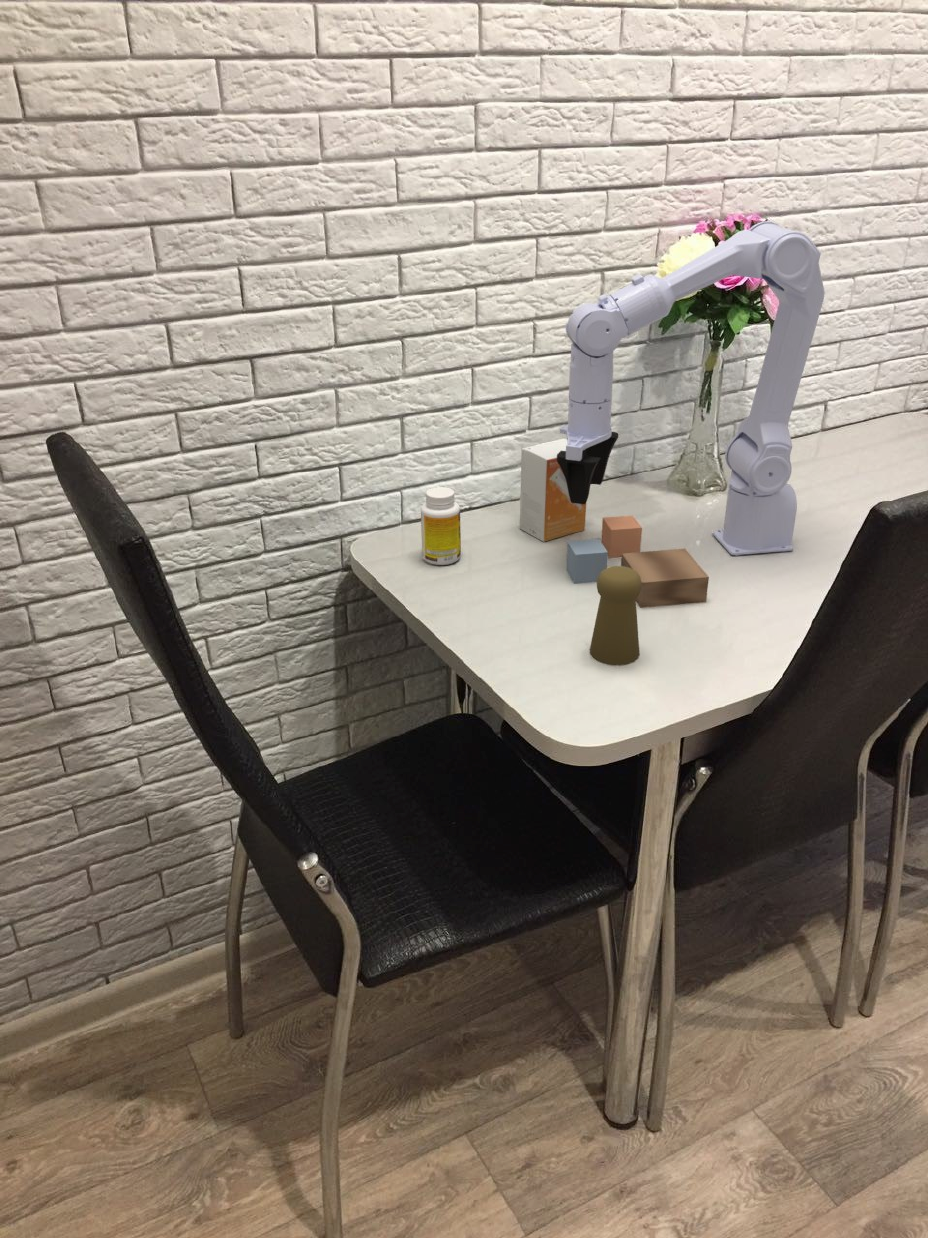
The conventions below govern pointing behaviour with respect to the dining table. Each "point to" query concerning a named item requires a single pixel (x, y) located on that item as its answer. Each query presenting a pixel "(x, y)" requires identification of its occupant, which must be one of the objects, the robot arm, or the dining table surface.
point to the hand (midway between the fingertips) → (586, 492)
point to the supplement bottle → (440, 527)
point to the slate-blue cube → (585, 560)
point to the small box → (547, 494)
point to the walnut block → (667, 577)
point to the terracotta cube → (621, 535)
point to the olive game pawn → (616, 617)
